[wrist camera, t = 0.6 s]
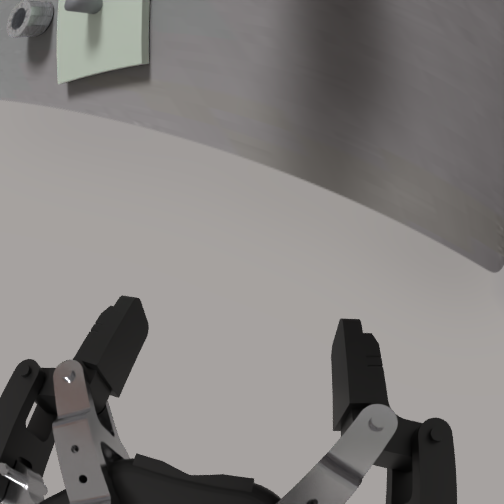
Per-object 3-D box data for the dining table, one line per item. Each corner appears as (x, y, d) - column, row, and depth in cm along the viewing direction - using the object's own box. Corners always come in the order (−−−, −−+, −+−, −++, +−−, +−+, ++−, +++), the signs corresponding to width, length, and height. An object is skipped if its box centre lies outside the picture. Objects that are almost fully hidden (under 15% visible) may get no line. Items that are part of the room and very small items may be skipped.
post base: (71, -31, 20) (40, -38, 14) (154, -62, 18) (129, -80, 12) (66, 82, 31) (33, 89, 25) (149, 63, 29) (119, 64, 23)
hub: (29, 9, 23) (8, 10, 19) (54, -4, 22) (32, -6, 18) (28, 40, 26) (6, 42, 22) (52, 28, 25) (29, 28, 21)
